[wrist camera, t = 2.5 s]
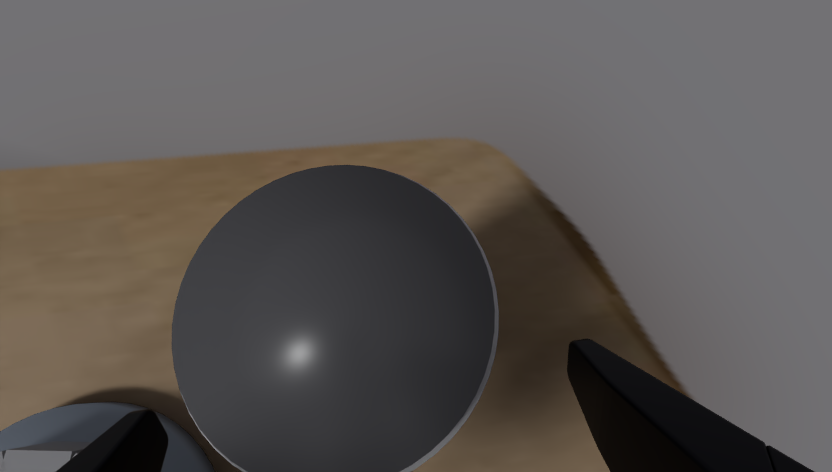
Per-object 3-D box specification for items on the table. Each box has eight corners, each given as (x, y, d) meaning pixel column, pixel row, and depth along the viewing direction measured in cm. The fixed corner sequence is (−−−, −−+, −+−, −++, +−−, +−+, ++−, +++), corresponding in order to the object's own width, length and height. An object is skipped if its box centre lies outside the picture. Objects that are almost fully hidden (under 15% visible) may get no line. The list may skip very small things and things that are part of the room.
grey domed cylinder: (471, 331, 18) (556, 251, 7) (408, 446, 17) (384, 589, 5) (370, 270, 19) (299, 114, 8) (302, 374, 18) (92, 365, 6)
